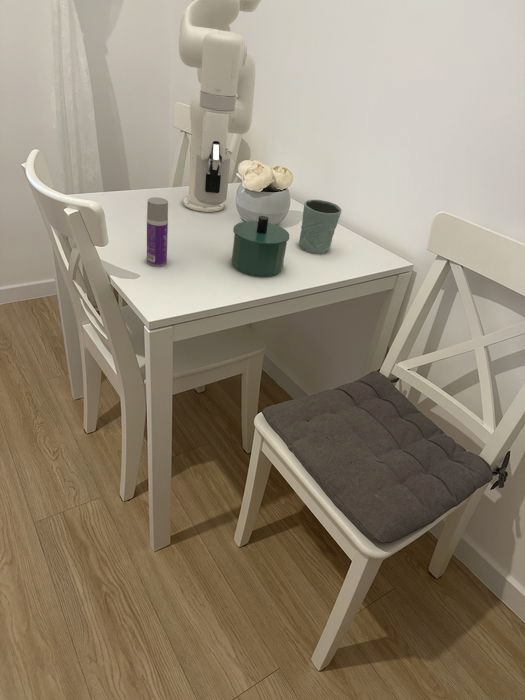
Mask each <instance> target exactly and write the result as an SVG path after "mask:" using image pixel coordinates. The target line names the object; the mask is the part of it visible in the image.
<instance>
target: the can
mask: <svg viewBox="0 0 525 700" xmlns="http://www.w3.org/2000/svg"><path fill="white" fill-rule="evenodd" d="M200 148H201V146H200ZM212 149H213V146H212ZM210 159H213V156H210ZM221 159H222V156H221ZM211 164H212V163H211ZM211 164H210V165H211ZM230 168H231V155H230V154H229V149H228V147H226V150H225V157H224V161H223V162H221V170H220V175H221V180H220V192H219V193H210V192H205V183H206V173H207V172H208V160H207V159H205V161H203V160H202V158H201V149H200V150H199V151H198V152H197V156H196V174H195V191H194V196H195V198H196V199H197V200H198V201H199V202H201V203H204V204H208V205H219V204H222V203H224V202H226V201H227V198H228V187H229V179H230V178H229V177H230Z"/></svg>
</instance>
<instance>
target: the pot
mask: <svg viewBox="0 0 525 700" xmlns="http://www.w3.org/2000/svg"><path fill="white" fill-rule="evenodd" d="M233 234H234V233H233ZM287 244H288V241H287V242H285V243H283V244H279V245H260V244H255V243H251V242H248V241H245V240H243V239H241V238H239V237H237V236H236V235H235V234H234V235H233V246H232V255H231V266H232V267H233V269H234V270H236V271H237V272H239V273H241V274H243V275H245V276H248V277H249V276H250V277H255V278H272V277H275V276H278V275H279V274H280V273H282V271H283V266H284V262H285V255H286V250H287Z"/></svg>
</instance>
